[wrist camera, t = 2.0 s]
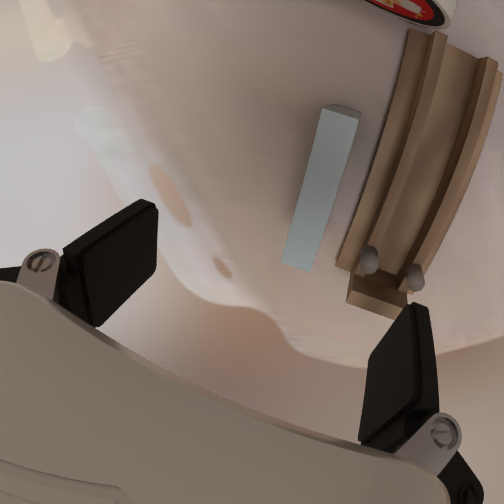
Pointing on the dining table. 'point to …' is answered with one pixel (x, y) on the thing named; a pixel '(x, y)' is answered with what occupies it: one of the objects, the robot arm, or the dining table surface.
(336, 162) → the panel
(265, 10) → the dining table surface
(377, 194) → the rail
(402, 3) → the sign
